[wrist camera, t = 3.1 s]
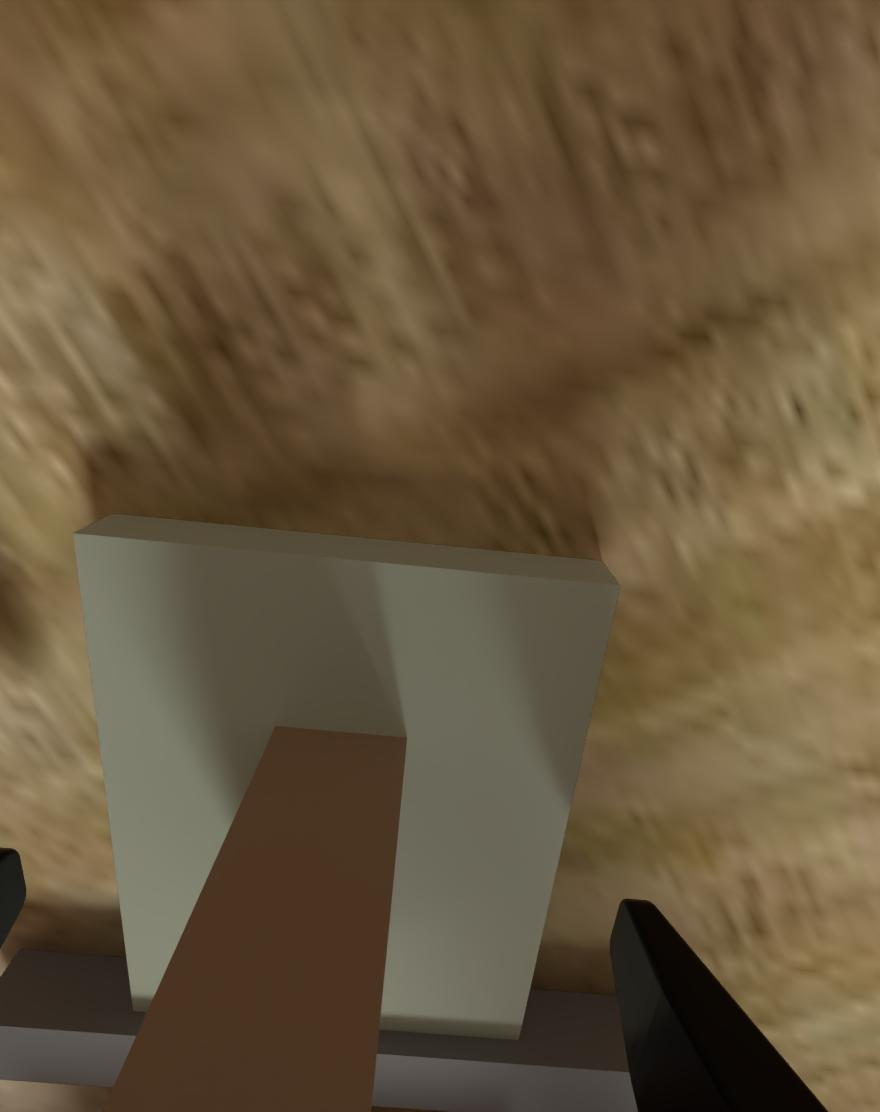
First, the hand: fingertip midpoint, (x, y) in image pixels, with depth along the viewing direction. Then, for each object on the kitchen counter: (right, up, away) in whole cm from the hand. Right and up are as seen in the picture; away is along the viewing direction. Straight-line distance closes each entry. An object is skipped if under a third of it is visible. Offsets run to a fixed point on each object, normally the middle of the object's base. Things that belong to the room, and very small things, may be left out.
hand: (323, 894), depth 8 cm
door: (0, +1, +2) cm, 2 cm away
